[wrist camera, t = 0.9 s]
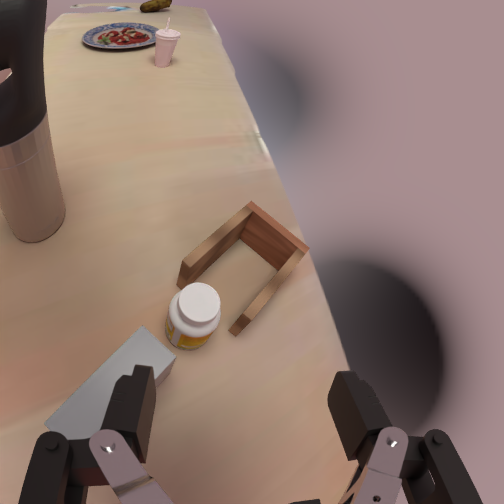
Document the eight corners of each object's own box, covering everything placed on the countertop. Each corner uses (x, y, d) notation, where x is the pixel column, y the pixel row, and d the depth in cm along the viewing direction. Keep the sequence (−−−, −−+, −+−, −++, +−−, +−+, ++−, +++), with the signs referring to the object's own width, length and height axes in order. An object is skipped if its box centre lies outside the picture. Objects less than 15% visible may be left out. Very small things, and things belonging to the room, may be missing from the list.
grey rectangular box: (97, 449, 25) (77, 459, 17) (71, 423, 26) (43, 423, 17) (169, 373, 33) (176, 356, 25) (144, 350, 33) (142, 325, 25)
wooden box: (235, 336, 37) (251, 320, 32) (176, 284, 39) (182, 260, 33) (289, 271, 45) (309, 248, 40) (238, 228, 46) (251, 200, 41)
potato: (139, 9, 90) (142, -7, 84) (168, 10, 96) (172, -6, 89) (139, 13, 87) (142, -4, 80) (170, 14, 92) (174, -2, 86)
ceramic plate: (142, 24, 81) (143, 17, 79) (176, 47, 75) (178, 38, 73) (73, 36, 67) (74, 28, 65) (94, 60, 61) (95, 51, 59)
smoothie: (152, 58, 67) (161, 13, 56) (175, 61, 69) (186, 16, 58) (147, 67, 64) (155, 19, 53) (171, 71, 66) (182, 22, 54)
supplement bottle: (156, 330, 35) (158, 301, 27) (184, 301, 38) (195, 264, 30) (190, 360, 34) (203, 340, 26) (217, 329, 37) (238, 300, 30)
